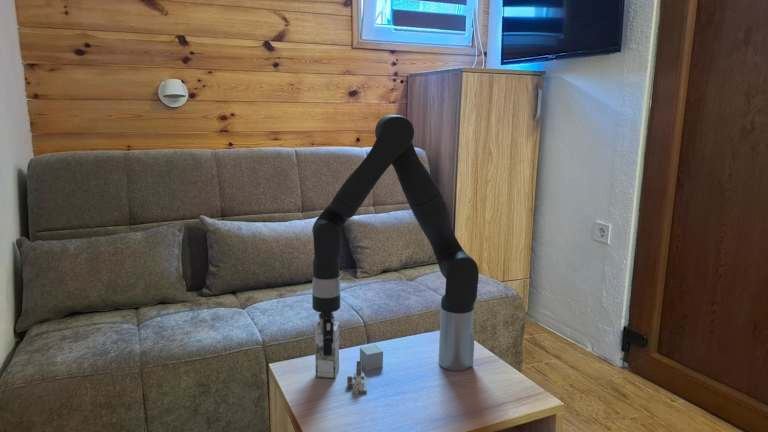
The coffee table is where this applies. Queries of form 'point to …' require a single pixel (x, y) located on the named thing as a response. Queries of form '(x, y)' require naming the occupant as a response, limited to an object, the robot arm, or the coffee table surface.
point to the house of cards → (357, 380)
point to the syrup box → (327, 364)
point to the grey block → (371, 357)
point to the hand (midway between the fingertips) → (326, 349)
